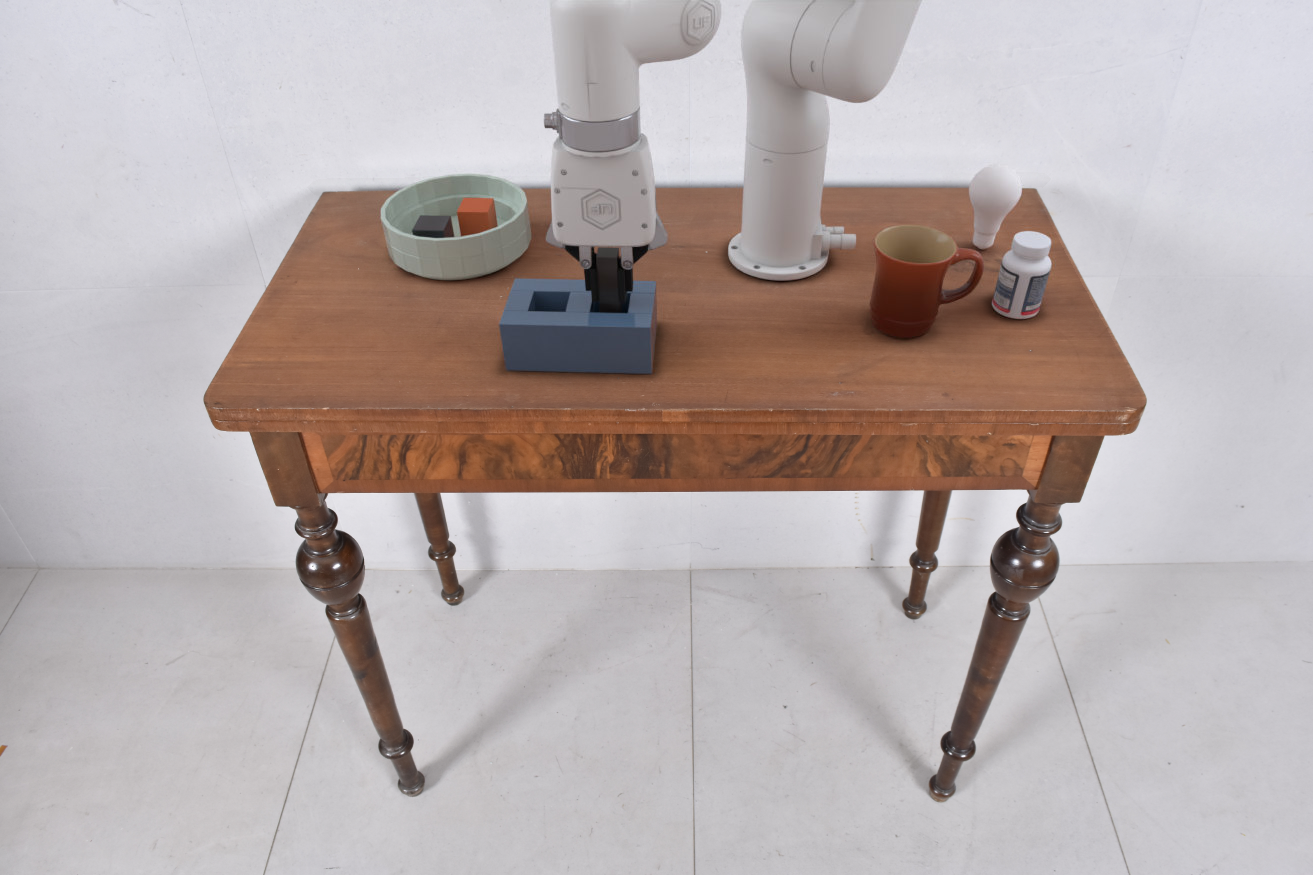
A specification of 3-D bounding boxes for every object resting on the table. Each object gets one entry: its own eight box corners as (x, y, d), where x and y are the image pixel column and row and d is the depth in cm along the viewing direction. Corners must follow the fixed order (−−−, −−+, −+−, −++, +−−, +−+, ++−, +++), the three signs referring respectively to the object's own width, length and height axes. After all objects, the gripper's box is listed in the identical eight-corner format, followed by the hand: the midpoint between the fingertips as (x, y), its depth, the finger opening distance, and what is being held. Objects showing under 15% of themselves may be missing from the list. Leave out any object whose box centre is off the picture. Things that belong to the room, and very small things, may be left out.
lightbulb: (953, 255, 117) (971, 173, 110) (960, 233, 121) (977, 153, 114) (1003, 263, 115) (1024, 180, 108) (1008, 241, 119) (1029, 160, 112)
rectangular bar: (623, 343, 104) (619, 247, 96) (622, 354, 102) (617, 258, 94) (604, 342, 104) (598, 247, 96) (602, 354, 102) (595, 257, 94)
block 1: (455, 243, 120) (450, 215, 117) (448, 259, 117) (443, 230, 114) (425, 243, 120) (419, 215, 118) (417, 258, 117) (411, 230, 114)
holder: (520, 323, 107) (514, 278, 103) (657, 326, 106) (656, 280, 102) (505, 370, 100) (498, 324, 96) (651, 374, 99) (650, 327, 95)
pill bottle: (1039, 300, 109) (1059, 231, 103) (1037, 323, 105) (1058, 254, 99) (992, 292, 110) (1009, 225, 104) (989, 315, 106) (1007, 247, 101)
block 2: (497, 226, 123) (493, 198, 121) (491, 240, 120) (487, 212, 118) (468, 225, 124) (463, 197, 121) (461, 240, 121) (456, 211, 118)
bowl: (541, 215, 127) (537, 174, 123) (517, 285, 113) (512, 241, 109) (411, 213, 128) (403, 172, 124) (372, 282, 114) (361, 239, 110)
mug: (864, 344, 102) (877, 262, 96) (858, 302, 109) (870, 223, 102) (975, 349, 101) (995, 267, 95) (963, 306, 108) (981, 226, 101)
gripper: (508, 142, 84) (529, 313, 96) (684, 144, 83) (683, 317, 95) (522, 110, 90) (541, 276, 102) (687, 112, 89) (686, 279, 101)
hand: (610, 294), depth 98 cm, fingers closed on rectangular bar, 2 cm apart
